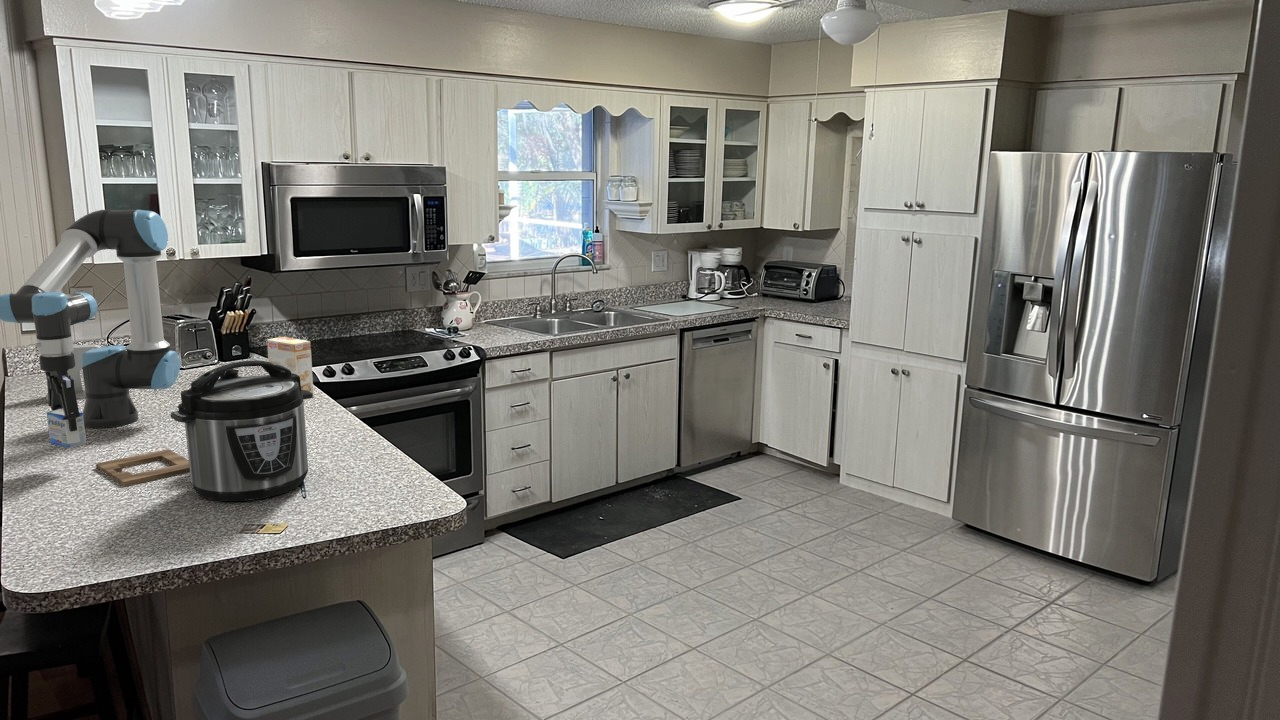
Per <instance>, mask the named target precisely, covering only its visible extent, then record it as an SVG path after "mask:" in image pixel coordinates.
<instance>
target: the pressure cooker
mask: <svg viewBox="0 0 1280 720" xmlns="http://www.w3.org/2000/svg"><path fill="white" fill-rule="evenodd" d="M245 367H261V368H262V369H263V370H264V371H265V372H266V373H267V374H265V375H263V374H262V375H242V376H241V375H240V376H239V374H238V373H239V372H240V371H239V368H245ZM313 394H314V392H313V393H311V392H309V391H306V390H301V383H300V377H299V376H298V375H297V374H294V373H291V371H290V370H289V369H288V368H286V367H284V366H281V365H279V364H275V363H272V362H268V361H265V360H244V361H243V360H242V361H236V362H231V363H227V364H223V365H221V366H217V367H215V368H213V369H211V370H209V371H207V372H205V373H204V374H201V375H200V376H198V377H197V378H195V379H194V380H193V381H192V382H190V388H189V389H185V390H181V392H180V399H181V400H180V401H181V403H179V404H178V405H177V409H178V410H177V411H176V410H175V411H172V412H170V418H171V419H172V420H174V421H176V422H178V423H183V424H184V428H185V436H186V437H185V439H186V447H187V457H188V458H187V459H188V460H189V468H190V472H189V477H190V482H191V483H192V484H191V485H192V488H193V490H194V491H195V492H196V493H197V495H199V496H201V497H203V498H206V499H208V500H213V501H218V502H219V501H220V502H221V501H223V502H246V501H253V500H262V499H266V498H270V497H275V496H278V495H282V494H285V493H287V492H289V491H291V490H294V489H296V488H298V487H299V486H300V485H301V484H302V483H304V480H305V479H306V477H307V474H308V473H309V463H308V460H309V459H308V448H307V445H308V443H307V432H306V417H305V402H304V400H307V399H313V398H314V396H313ZM301 482H302V483H301Z"/></svg>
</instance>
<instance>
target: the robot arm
mask: <svg viewBox="0 0 1280 720" xmlns="http://www.w3.org/2000/svg"><path fill="white" fill-rule="evenodd" d="M165 223H166V222H165V221H164V220H163V218H162V217H161V216H160V214H158V213H156V212H155V211H152V210H144V209H143V210H142V209H100V210H95V211H92V212H89V213H88V214H85V215H83V216H82V217H80V218H79V219H76V220H75V221H74V222H73V223H71V224H70V225H69V226H68V227H67V228H66V229H65V230H64V232H62V234H61V237H60V242H59V243H58V245H56V247H55V248H54V249H53V250H52V252H50V253H49V255H48V256H47V257H46V258H45V259H44V261H42V263H41V264H40V265H39V266H38V267H37V269H36V270H35V271H34V272H33V273H31V275H30V276H29V278H28V279H27V280H26V281H25V282H24V283H23V285H22V286H21V287H20V288H19V289H18V290H17V291H16V292H15V293H12V292H10V293H4V294H1V295H0V320H1V321H2V322H5V323H17V324H33V325H34V328H35V336H36V337H35V338H36V342H35V343H34V346H35V347H37V350H38V354H40V355H39V357H38V360H39V361H38V362H39V365H40V370H42V371H43V372H45V376H46V385H47V394H48V401H47V402H48V406H49V407H50V409H51V411H53V410H58V409H63V410H64V414H65V417H63V418H62V419H63V420H64V422H65V429H66V437H67V443H68V444H71V443H76V442H80V436H79V429H78V421H77V418H78V417H80V413H79V412H80V411H79V410H80V409H79V403H78V398H76V394H75V389H74V380H73V379H71V377H70V375H69V376H68V372H67V371H68V370H69V369H72V368H74V367H75V358H74V354H73V353H72V351H73V350H74V348H73V346H74V343H73V335H72V330H71V326H73V325H77V324H80V323H85V322H86V321H89V320H90V319H92V318H94V316H95V315H96V314H97V312H98V302H97V300H96V298H95V297H93V295H91V294H89V293H87V292H83V291H82V292H81V291H80V292H73V293H71V294H65V293H64V292H61V290H62V289H63V287H64V286H65V285H66V284H67V282H68V281H69V280H70V279H71V277H72V276H73V275H74V274H75V273H76V272H77V270H78V269H80V267H81V266H82V264H83V263H84V262H85V261H86V260H87V258H91V257H93V256H94V255H96V254H97V252H99V251H104V250H115V251H116V258H118V259H119V260H120V261H122V263H123V270H124V271H123V273H124V280H125V281H124V282H125V288H126V290H125V291H126V298H127V306H128V307H127V308H128V309H127V310H128V316H129V326H130V328H129V329H130V336H131V342H130V343H129V344H128V345H127V346H126V347H125V345H122V344H117V345H109V346H102V347H101V346H100V347H101V348H96V349H94V348H93V349H90V350H89V351H86V352H85V353H83V355H82V369H81V371H82V377H83V378H82V379H83V385H84V390H85V394H86V398H85V401H84V406H83V409H82V413H83V419H84V428H85V427H86V428H94V429H97V428H113V426H115V427H120V426H125V425H129V424H132V423H134V422H137V421H138V420H139V411H138V410H137V407H136V406H135V403H134V401H133V399H132V397H131V394H130V390H153V391H157V390H166V389H169V388H171V387H172V386H173V385H174V384H175V383H176V381H177V379H178V377H179V373H180V369H181V359H180V356H179V354H178V352H176V351H174V350H172V349H171V343H169V342H168V341H167V340H166V339H165V338H164V337H165V335H164V326H163V317H162V310H161V309H162V307H161V298H160V287H159V286H160V285H159V276H158V267H157V261H158V259H159V258H161V256H162V251H163V250H165V249H166V248H167V246H168V241H169V234H168V233H169V232H168V230H167V229H168V228H167V226H166V224H165Z"/></svg>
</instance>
